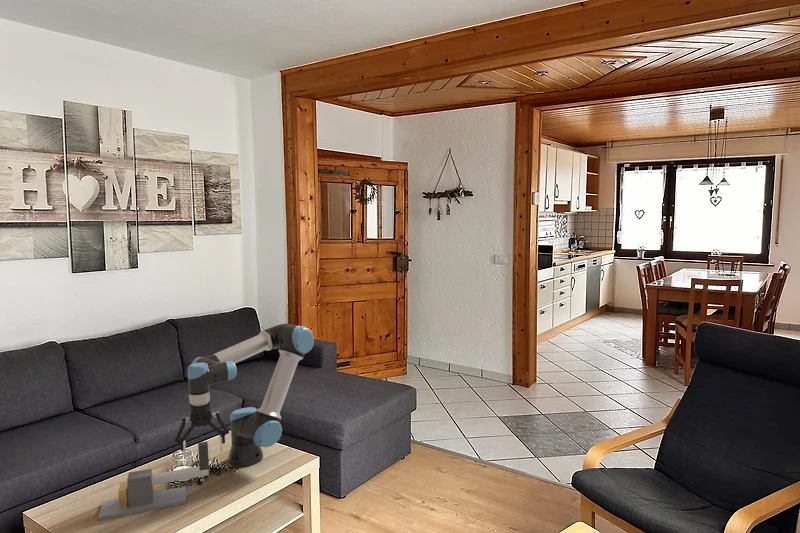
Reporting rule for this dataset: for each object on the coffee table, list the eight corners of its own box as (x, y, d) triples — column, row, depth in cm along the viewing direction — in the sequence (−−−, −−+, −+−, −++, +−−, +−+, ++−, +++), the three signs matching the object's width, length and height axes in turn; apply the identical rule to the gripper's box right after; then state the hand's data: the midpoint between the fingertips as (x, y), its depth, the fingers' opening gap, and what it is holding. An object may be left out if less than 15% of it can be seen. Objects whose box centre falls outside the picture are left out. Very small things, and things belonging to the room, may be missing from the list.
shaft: (209, 471, 219) (207, 441, 218) (209, 475, 216) (207, 444, 215) (137, 484, 210) (134, 452, 209) (136, 488, 207) (133, 456, 206)
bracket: (186, 488, 221) (184, 460, 220) (186, 503, 210) (184, 472, 209) (103, 504, 210) (100, 474, 209) (98, 520, 199) (95, 488, 198)
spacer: (129, 499, 211) (127, 481, 210) (127, 508, 204) (125, 490, 204) (121, 500, 210) (120, 482, 210) (119, 509, 204) (118, 491, 203)
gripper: (232, 395, 222) (235, 445, 224) (166, 404, 213) (169, 456, 216) (233, 400, 215) (237, 452, 217) (165, 410, 206) (169, 464, 209)
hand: (203, 454), depth 216 cm, fingers open, 13 cm apart
